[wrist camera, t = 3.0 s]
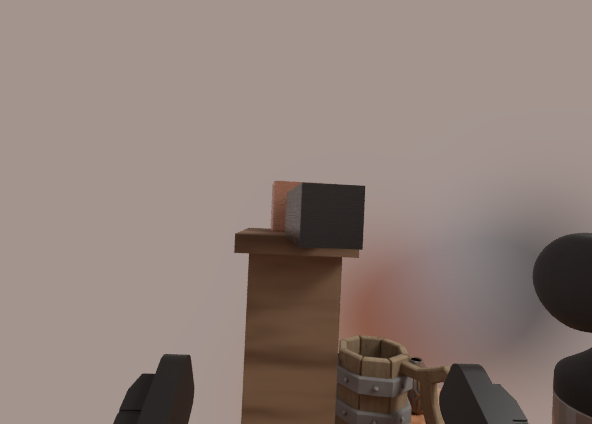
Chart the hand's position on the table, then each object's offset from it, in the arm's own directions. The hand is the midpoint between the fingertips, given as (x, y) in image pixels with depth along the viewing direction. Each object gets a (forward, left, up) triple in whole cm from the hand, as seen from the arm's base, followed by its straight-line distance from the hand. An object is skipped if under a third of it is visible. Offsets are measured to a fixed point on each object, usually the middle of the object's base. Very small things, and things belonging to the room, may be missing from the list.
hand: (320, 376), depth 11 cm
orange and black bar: (-10, -16, +3) cm, 19 cm away
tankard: (-34, -27, -29) cm, 52 cm away
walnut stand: (-12, -20, -29) cm, 37 cm away
